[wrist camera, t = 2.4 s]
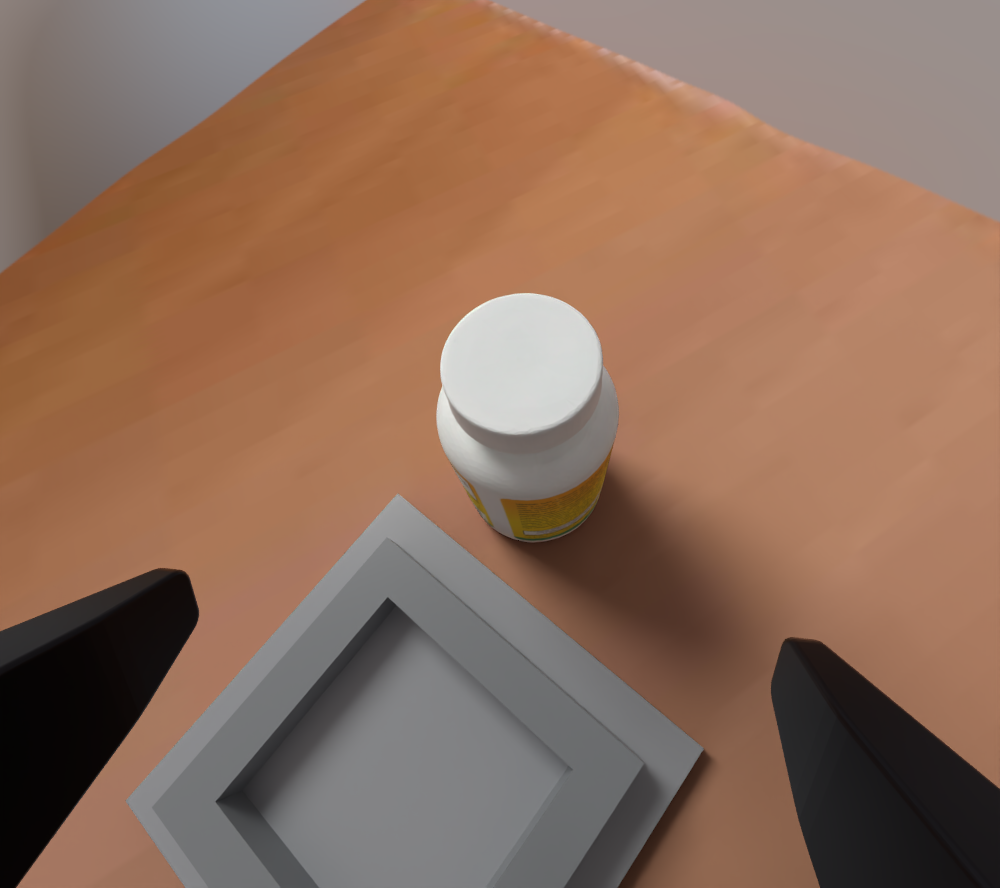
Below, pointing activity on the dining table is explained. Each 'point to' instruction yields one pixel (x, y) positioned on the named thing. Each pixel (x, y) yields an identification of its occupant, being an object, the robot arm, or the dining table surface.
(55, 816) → the robot arm
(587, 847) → the tray
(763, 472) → the dining table surface
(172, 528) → the dining table surface
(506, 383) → the supplement bottle
